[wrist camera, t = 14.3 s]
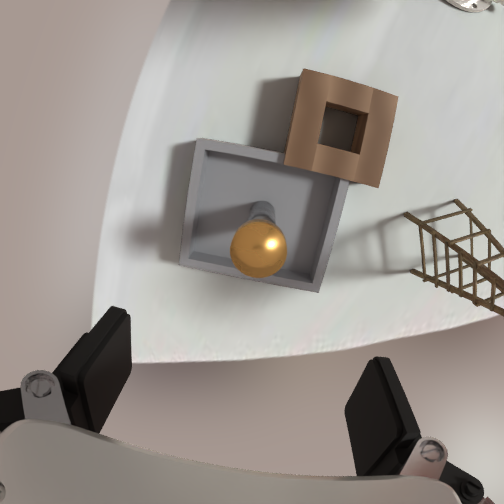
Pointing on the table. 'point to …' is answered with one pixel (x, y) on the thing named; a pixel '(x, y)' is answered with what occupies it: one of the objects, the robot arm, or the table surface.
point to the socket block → (365, 137)
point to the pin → (259, 243)
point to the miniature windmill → (465, 257)
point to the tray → (241, 200)
